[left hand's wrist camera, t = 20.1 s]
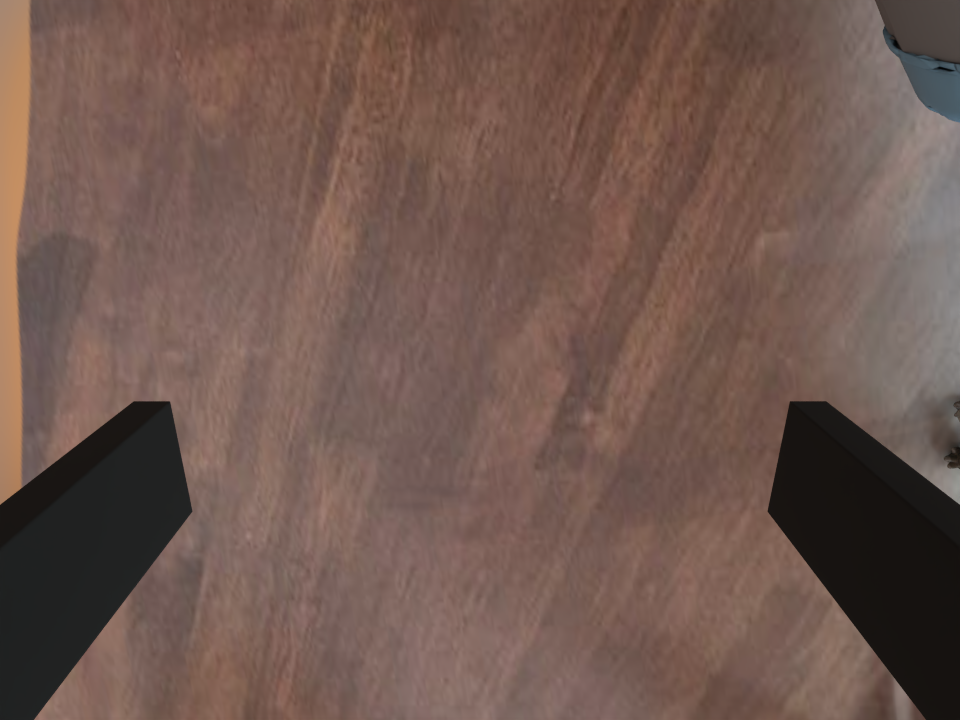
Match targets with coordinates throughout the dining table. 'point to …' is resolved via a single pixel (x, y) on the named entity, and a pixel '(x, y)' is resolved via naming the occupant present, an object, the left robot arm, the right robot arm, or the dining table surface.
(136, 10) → the dining table surface
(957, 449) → the toy dinosaur
